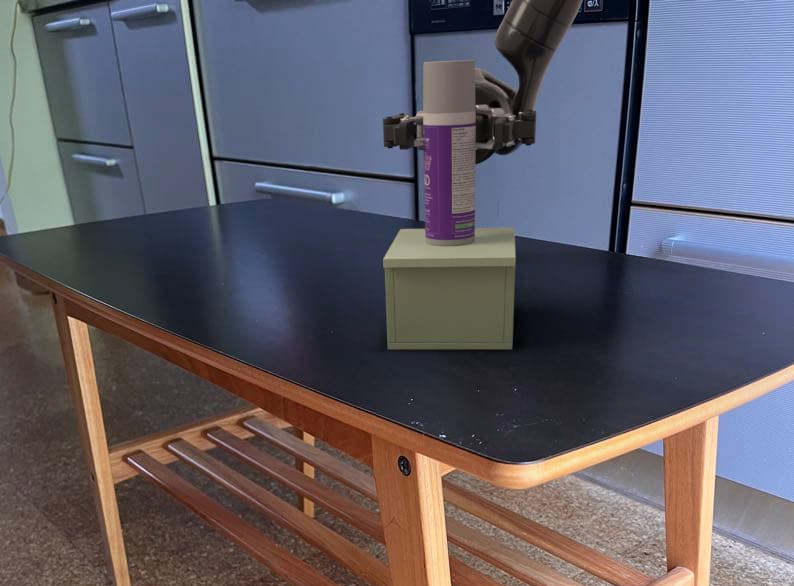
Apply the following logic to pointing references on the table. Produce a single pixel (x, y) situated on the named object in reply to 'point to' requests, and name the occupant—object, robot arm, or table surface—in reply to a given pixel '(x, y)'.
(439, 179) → the container
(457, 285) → the chest
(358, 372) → the table surface
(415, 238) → the lid
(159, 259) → the table surface
